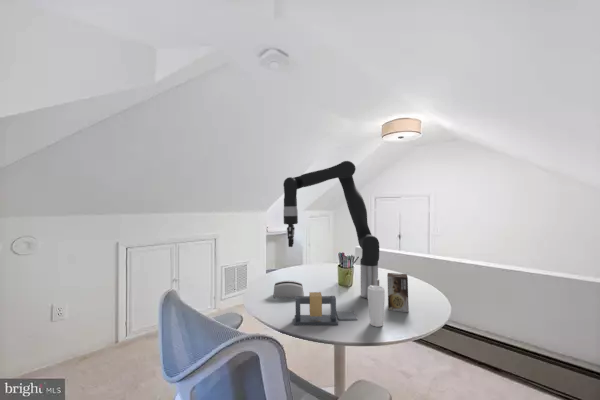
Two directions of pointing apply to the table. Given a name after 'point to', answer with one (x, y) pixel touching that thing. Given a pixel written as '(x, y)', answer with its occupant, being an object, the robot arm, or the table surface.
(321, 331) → the table surface
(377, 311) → the drinking glass
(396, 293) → the cookie box
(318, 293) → the block
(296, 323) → the rail stand
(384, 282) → the table surface
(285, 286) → the grey curved block
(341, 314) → the slate pad
